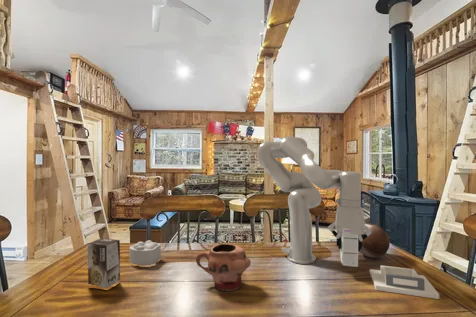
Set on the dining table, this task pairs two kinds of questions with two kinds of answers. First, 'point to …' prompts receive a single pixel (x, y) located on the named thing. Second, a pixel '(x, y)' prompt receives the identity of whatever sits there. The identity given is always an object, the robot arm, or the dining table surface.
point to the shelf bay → (402, 282)
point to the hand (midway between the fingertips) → (348, 248)
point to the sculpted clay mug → (225, 265)
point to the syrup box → (349, 248)
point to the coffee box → (104, 262)
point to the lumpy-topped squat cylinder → (145, 253)
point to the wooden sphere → (375, 242)
